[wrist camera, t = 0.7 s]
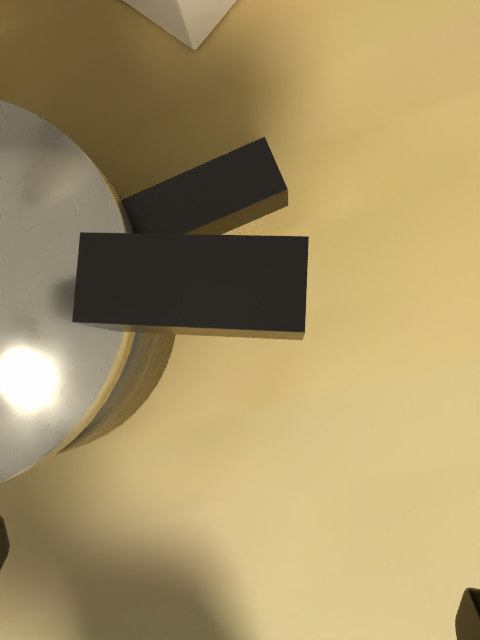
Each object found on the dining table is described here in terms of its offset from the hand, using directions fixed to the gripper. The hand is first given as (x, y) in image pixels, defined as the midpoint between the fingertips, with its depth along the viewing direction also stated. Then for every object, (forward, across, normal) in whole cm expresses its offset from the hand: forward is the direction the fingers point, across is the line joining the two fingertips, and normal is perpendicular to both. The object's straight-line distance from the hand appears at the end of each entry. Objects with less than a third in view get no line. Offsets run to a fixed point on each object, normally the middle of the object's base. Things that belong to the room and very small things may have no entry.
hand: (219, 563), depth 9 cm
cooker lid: (+11, +10, -1) cm, 15 cm away
